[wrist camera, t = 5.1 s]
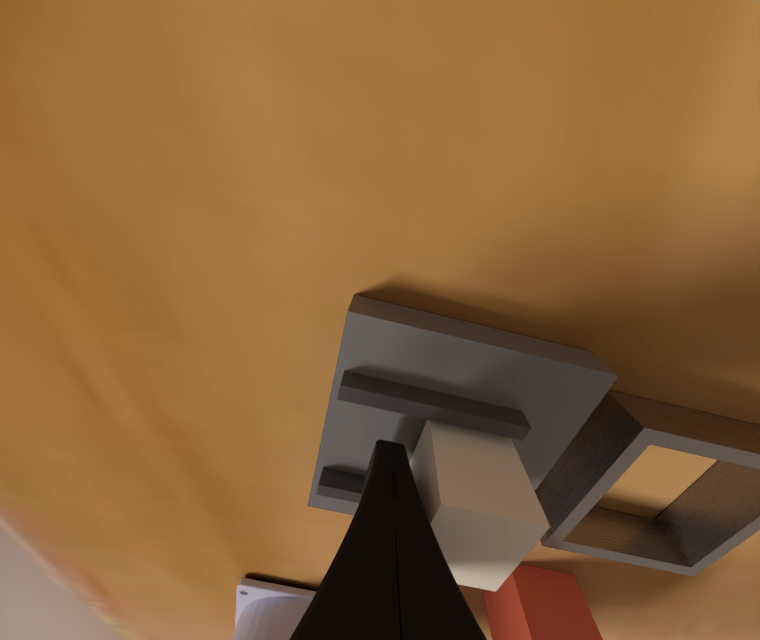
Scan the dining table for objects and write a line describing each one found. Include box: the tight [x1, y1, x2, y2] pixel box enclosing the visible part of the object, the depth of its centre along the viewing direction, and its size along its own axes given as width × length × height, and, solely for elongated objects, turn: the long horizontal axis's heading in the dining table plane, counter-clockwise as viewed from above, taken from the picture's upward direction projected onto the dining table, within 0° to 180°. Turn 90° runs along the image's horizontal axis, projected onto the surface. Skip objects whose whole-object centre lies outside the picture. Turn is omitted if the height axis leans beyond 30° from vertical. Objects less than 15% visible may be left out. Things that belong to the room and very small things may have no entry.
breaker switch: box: [410, 420, 550, 592], centre depth 10 cm, size 4×3×3 cm
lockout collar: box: [535, 390, 760, 577], centre depth 12 cm, size 7×7×2 cm
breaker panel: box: [308, 294, 619, 515], centre depth 12 cm, size 10×9×2 cm
